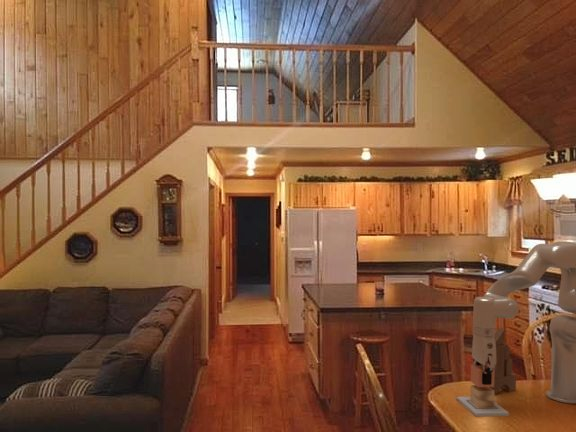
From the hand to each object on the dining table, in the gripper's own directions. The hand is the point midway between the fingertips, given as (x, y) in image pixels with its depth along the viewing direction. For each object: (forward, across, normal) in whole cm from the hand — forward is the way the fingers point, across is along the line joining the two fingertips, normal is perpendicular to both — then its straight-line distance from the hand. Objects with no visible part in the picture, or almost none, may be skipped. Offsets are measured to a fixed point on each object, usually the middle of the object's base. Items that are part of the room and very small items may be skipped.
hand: (482, 380), depth 188 cm
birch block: (+9, 0, 0) cm, 9 cm away
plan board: (+10, 0, 0) cm, 10 cm away
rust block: (+1, 0, 0) cm, 1 cm away
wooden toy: (+10, +17, -14) cm, 24 cm away
